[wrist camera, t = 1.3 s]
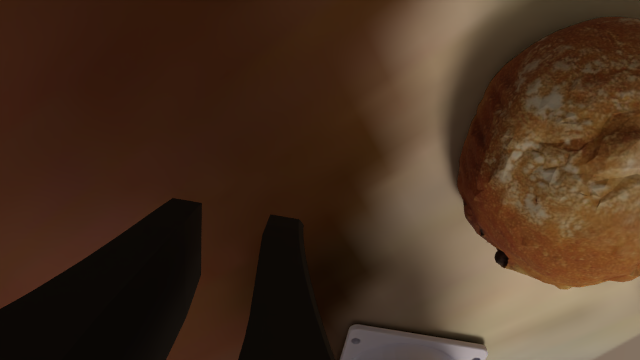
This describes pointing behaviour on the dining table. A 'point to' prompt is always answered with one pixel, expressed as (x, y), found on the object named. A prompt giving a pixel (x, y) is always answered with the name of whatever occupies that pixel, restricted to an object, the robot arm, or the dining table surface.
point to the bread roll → (561, 157)
